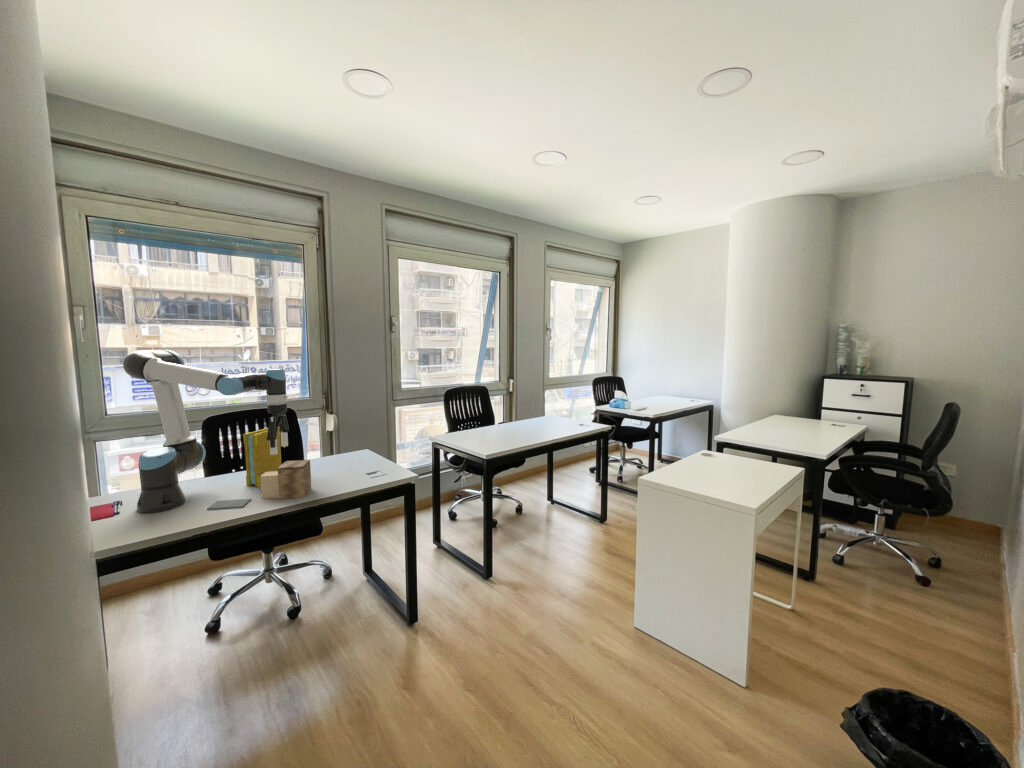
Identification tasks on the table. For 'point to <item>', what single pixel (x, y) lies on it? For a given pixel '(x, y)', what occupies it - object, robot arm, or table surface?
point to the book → (260, 455)
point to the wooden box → (294, 479)
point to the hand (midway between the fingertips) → (279, 450)
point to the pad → (229, 504)
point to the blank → (269, 484)
